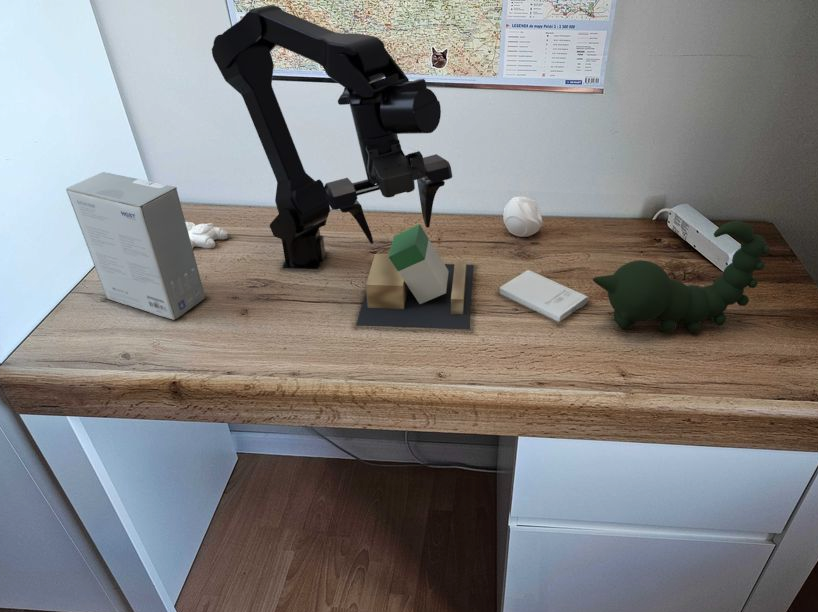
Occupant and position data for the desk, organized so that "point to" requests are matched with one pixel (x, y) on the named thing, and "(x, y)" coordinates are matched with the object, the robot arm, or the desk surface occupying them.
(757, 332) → the desk surface
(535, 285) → the hard drive
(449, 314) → the desk mat
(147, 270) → the hard drive box
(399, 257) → the block
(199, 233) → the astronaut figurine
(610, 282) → the toy figurine
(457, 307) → the ash rail
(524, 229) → the white ball
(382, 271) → the birch block
